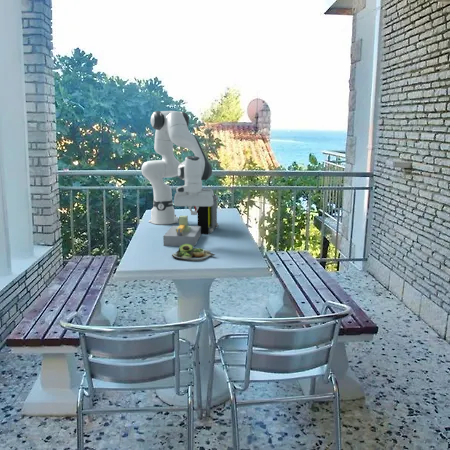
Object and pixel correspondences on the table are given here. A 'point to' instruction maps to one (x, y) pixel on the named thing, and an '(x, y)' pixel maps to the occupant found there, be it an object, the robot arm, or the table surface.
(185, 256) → the salad plate
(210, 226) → the electrical component
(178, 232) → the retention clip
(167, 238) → the grey flat block
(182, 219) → the plug
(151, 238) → the table surface
